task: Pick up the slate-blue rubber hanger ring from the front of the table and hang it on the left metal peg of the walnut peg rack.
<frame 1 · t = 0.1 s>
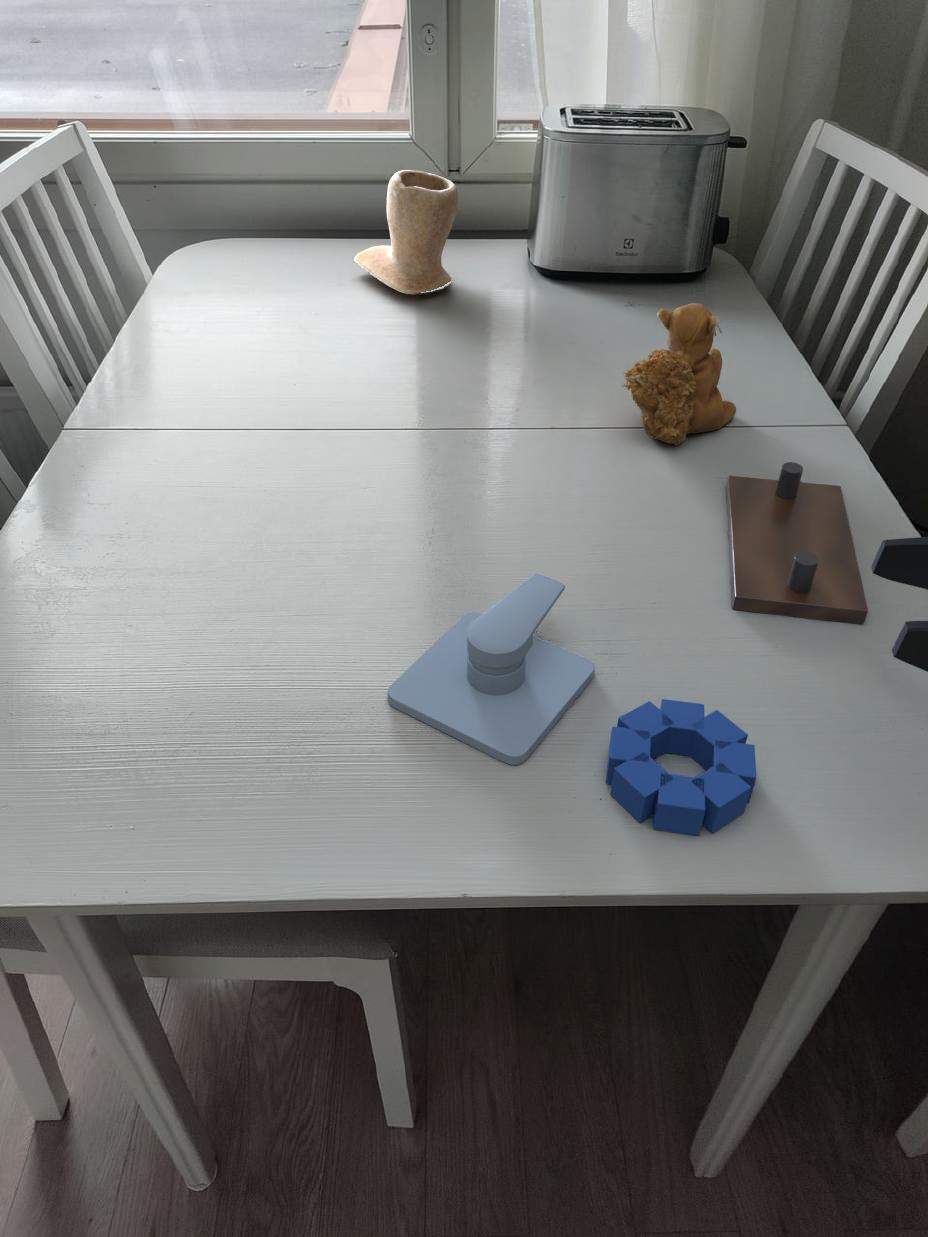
hand: (887, 595, 53), 20 cm above the table, tool horizontal, fingers open, 7 cm apart
hanger ring: (676, 777, 69), on the table
peg rack: (788, 549, 90), on the table
shower valve: (500, 679, 77), on the table
stone cup: (412, 282, 142), on the table
stuffed squirrel: (673, 427, 108), on the table
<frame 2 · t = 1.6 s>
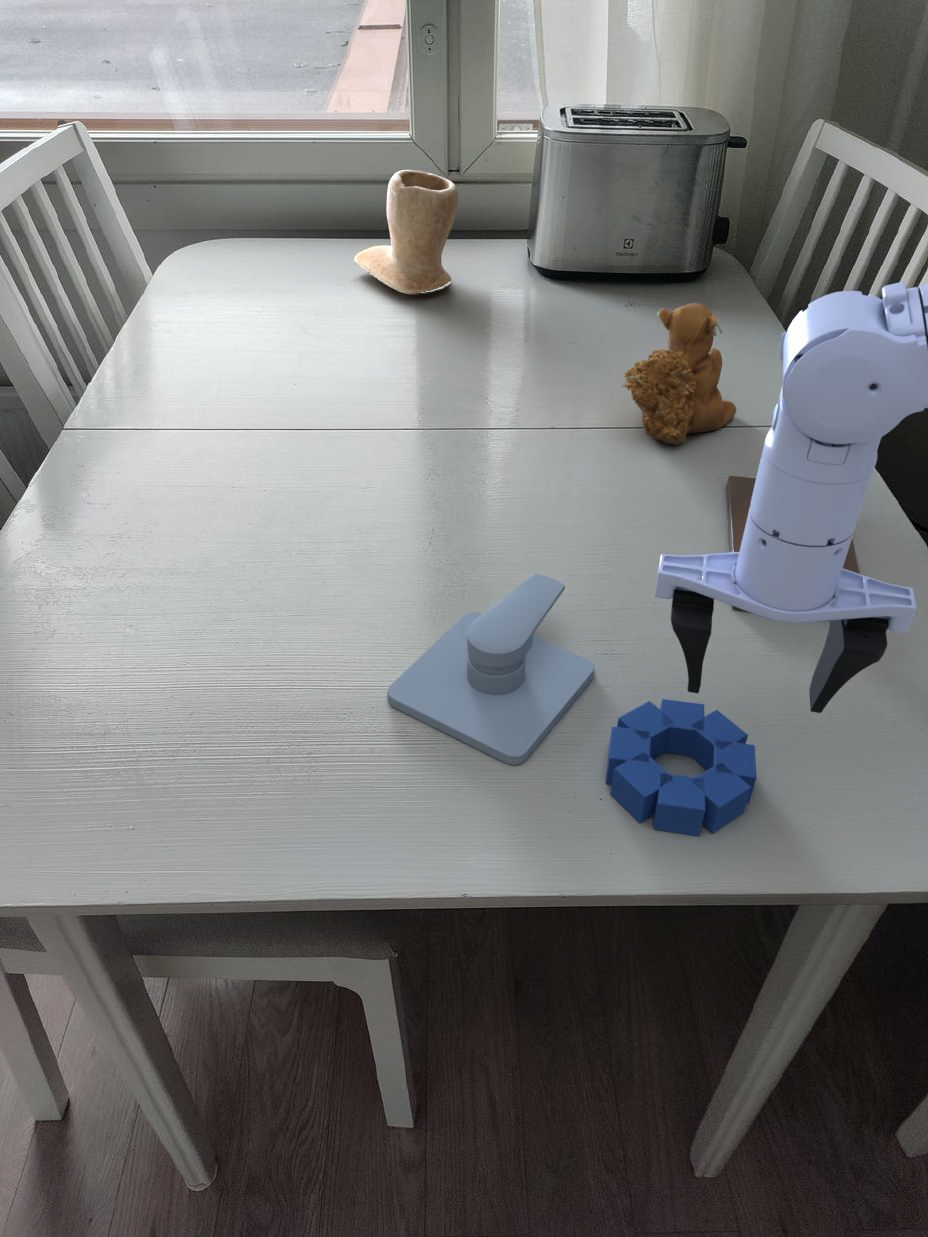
hand: (753, 692, 62), 9 cm above the table, tool pointing down, fingers open, 7 cm apart
nothing on the table moved.
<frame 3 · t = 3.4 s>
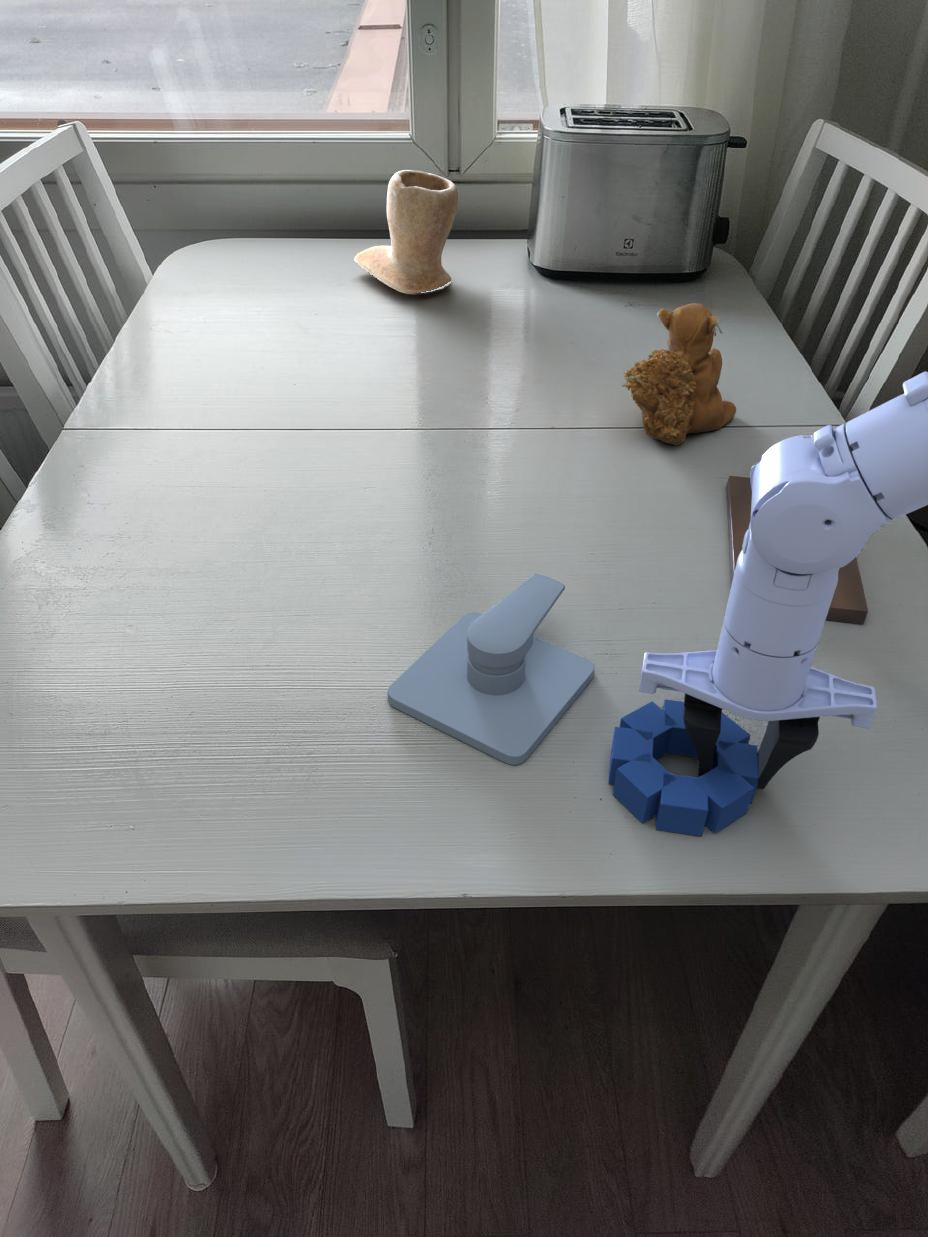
hand: (731, 773, 67), 1 cm above the table, tool pointing down, fingers closed on hanger ring, 3 cm apart
hanger ring: (679, 777, 69), on the table, touching gripper
everything else where it was.
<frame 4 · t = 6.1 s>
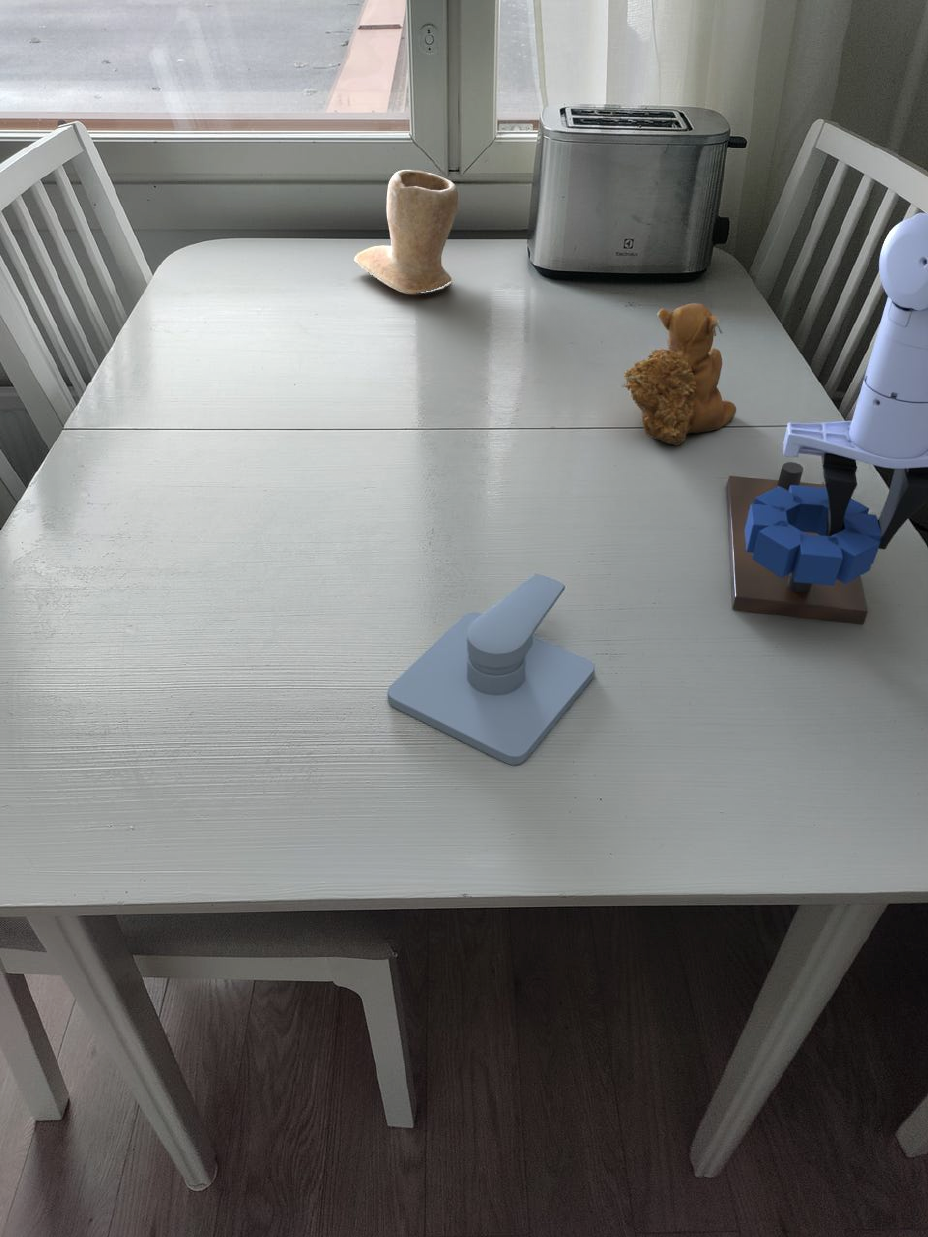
hand: (855, 539, 78), 8 cm above the table, tool pointing down, fingers closed on hanger ring, 3 cm apart
hanger ring: (807, 547, 79), point 7 cm above the table, touching gripper
everything else where it was.
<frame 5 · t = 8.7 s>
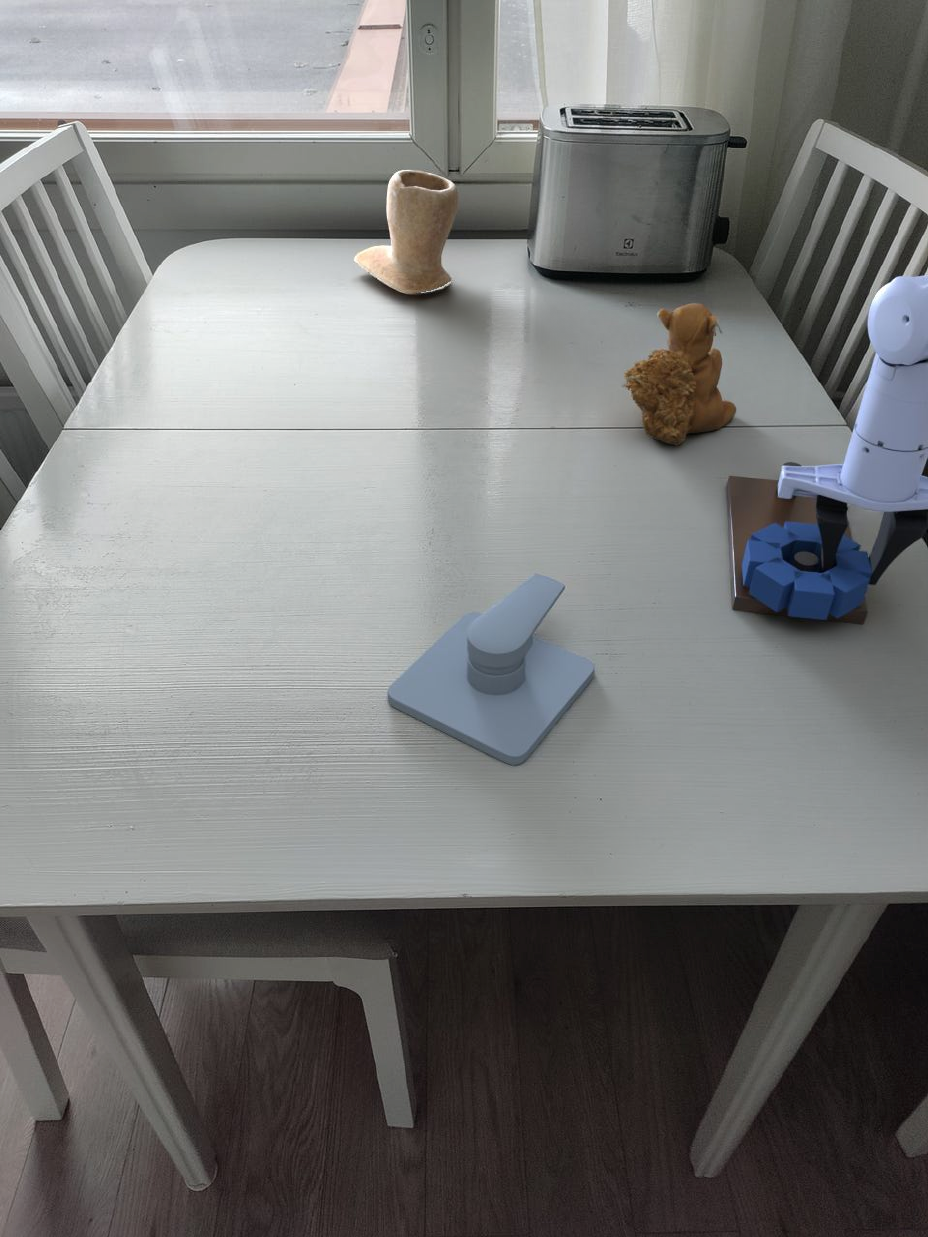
hand: (847, 574, 82), 3 cm above the table, tool pointing down, fingers closed on hanger ring, 3 cm apart
hanger ring: (801, 581, 83), point 2 cm above the table, touching gripper
everything else where it was.
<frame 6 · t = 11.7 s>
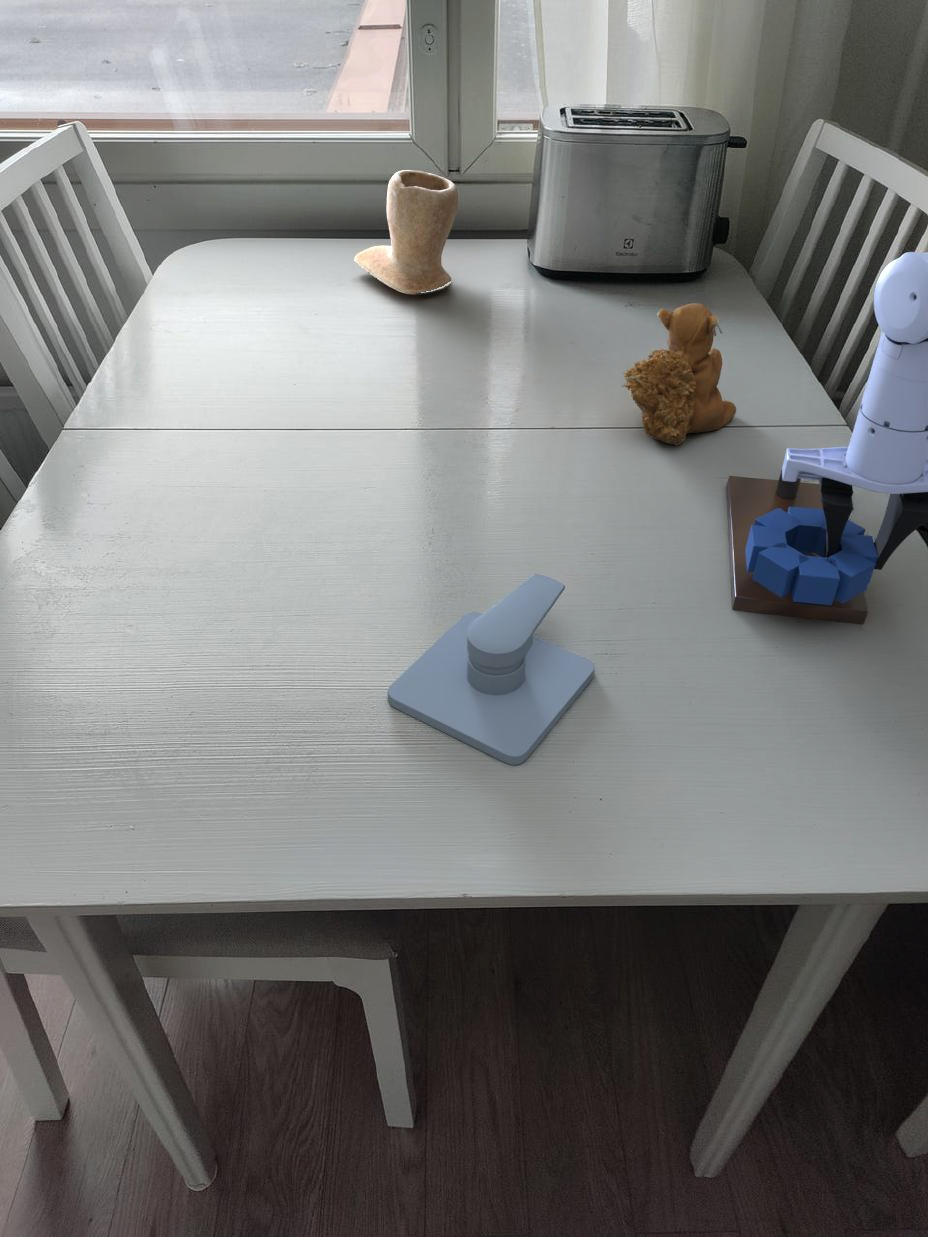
hand: (852, 559, 80), 5 cm above the table, tool pointing down, fingers closed on hanger ring, 3 cm apart
hanger ring: (805, 567, 82), point 4 cm above the table, touching gripper
everything else where it was.
when the fingers open (5 cm above the table, at t = 14.0 s): hanger ring drops 2 cm, resting on peg rack.
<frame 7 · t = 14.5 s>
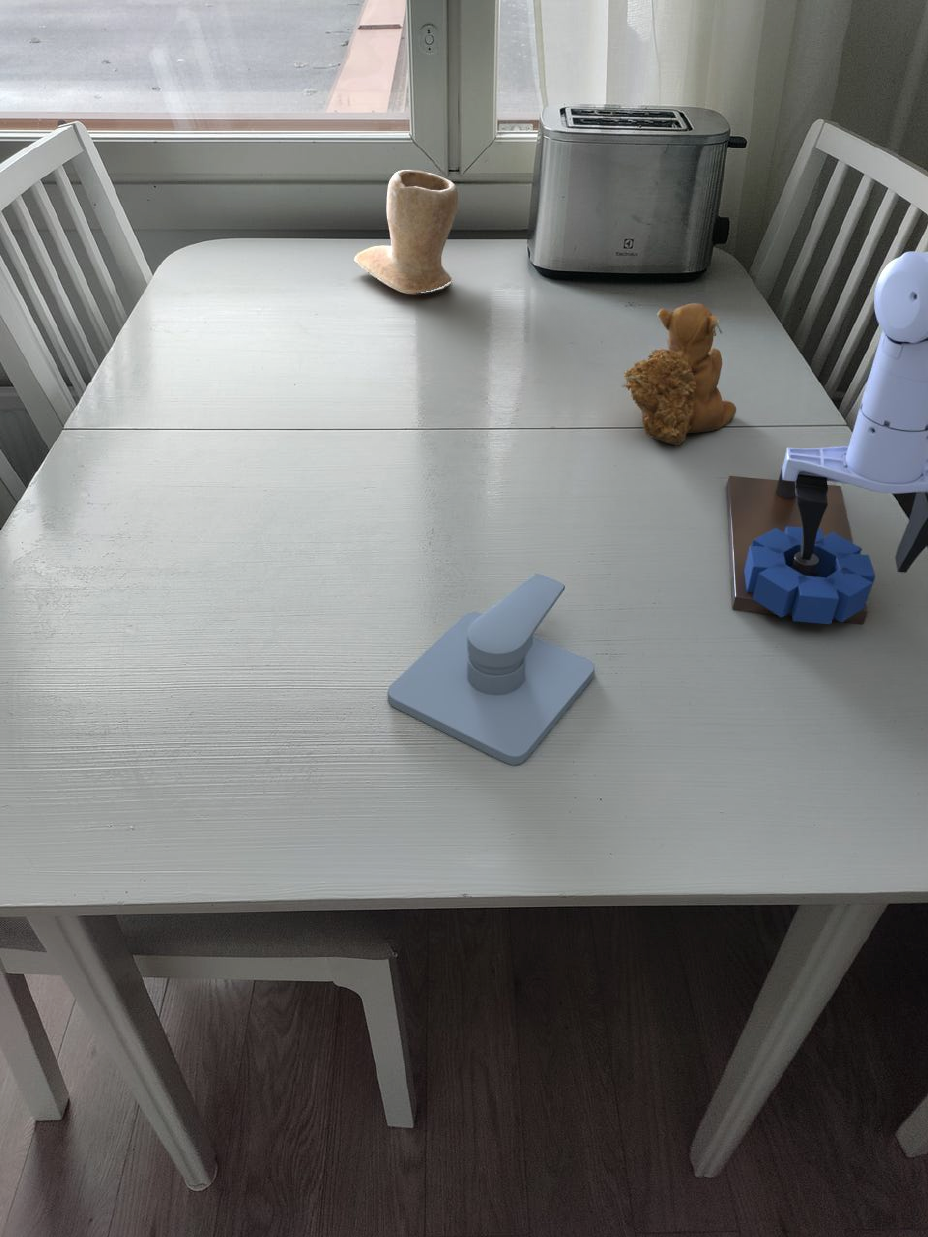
hand: (852, 559, 80), 5 cm above the table, tool pointing down, fingers open, 7 cm apart
hanger ring: (803, 586, 83), point 1 cm above the table, touching peg rack
everything else where it was.
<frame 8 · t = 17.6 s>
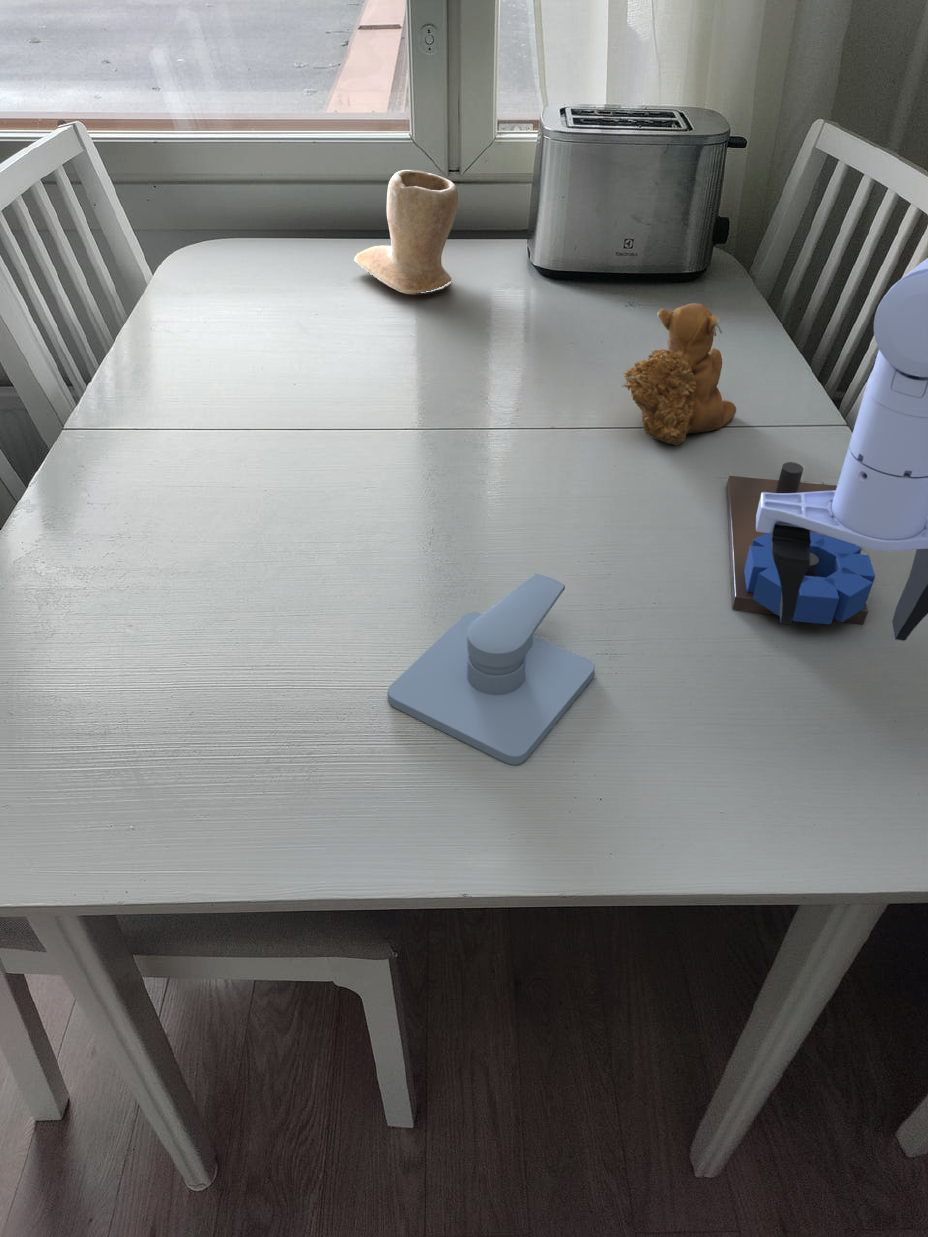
hand: (841, 623, 67), 9 cm above the table, tool pointing down, fingers open, 7 cm apart
nothing on the table moved.
at the end: hanger ring 0.4 cm from the target spot on the peg rack, point 1.5 cm above the peg rack's base; the gripper is holding nothing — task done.
